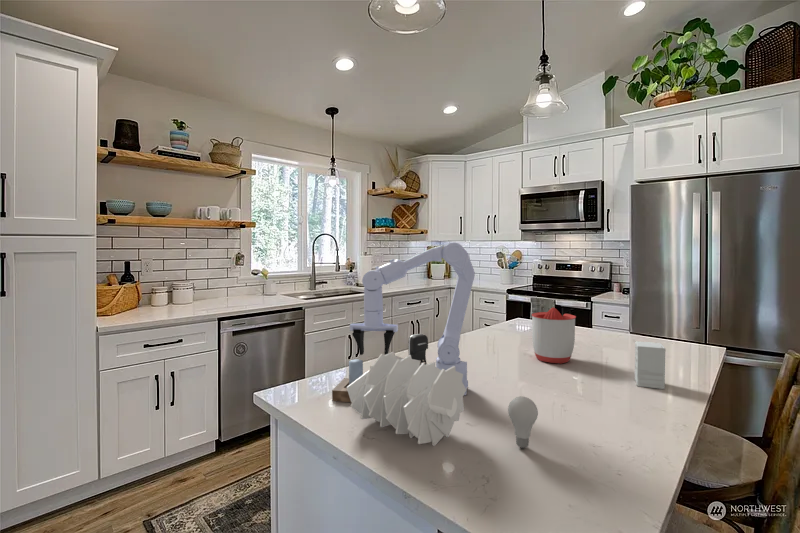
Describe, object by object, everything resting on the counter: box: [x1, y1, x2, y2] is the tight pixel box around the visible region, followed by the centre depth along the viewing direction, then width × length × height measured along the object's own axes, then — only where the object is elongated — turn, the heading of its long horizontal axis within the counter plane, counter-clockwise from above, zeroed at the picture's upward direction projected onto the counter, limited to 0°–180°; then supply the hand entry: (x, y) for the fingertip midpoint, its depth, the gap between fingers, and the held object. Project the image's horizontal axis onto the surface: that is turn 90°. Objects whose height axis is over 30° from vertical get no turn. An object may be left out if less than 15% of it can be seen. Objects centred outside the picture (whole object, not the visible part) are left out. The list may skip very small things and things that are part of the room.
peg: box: [348, 358, 364, 385], centre depth 117 cm, size 4×4×10 cm
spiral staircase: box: [347, 351, 466, 447], centre depth 94 cm, size 18×18×25 cm
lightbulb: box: [507, 395, 539, 449], centre depth 86 cm, size 6×6×11 cm
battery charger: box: [407, 333, 429, 365], centre depth 145 cm, size 7×4×11 cm, turn 125°
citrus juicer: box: [531, 306, 577, 365], centre depth 153 cm, size 16×17×20 cm
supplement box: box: [634, 340, 667, 390], centre depth 125 cm, size 7×7×13 cm
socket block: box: [331, 377, 352, 403], centre depth 117 cm, size 11×11×3 cm
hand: (374, 354), depth 123 cm, fingers open, 7 cm apart
